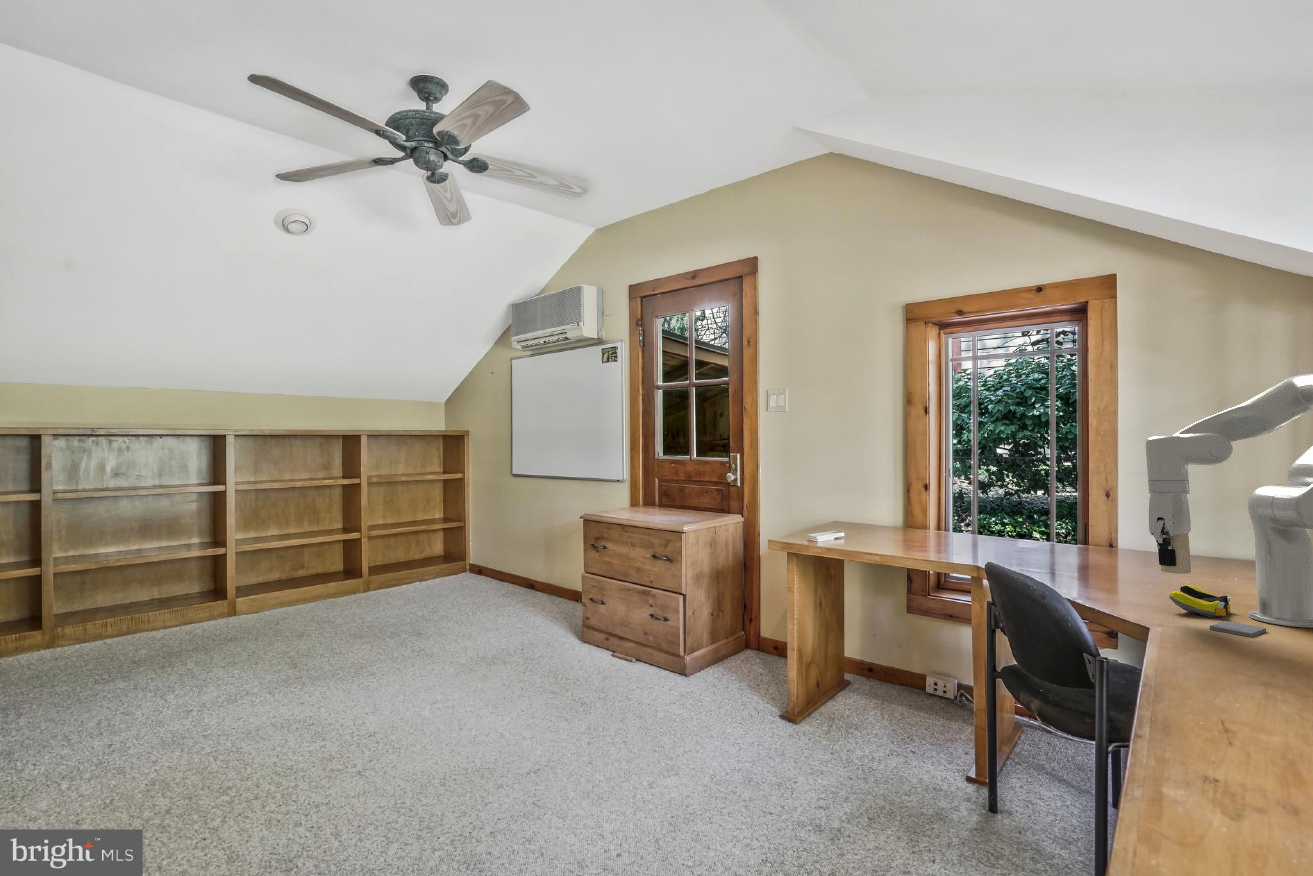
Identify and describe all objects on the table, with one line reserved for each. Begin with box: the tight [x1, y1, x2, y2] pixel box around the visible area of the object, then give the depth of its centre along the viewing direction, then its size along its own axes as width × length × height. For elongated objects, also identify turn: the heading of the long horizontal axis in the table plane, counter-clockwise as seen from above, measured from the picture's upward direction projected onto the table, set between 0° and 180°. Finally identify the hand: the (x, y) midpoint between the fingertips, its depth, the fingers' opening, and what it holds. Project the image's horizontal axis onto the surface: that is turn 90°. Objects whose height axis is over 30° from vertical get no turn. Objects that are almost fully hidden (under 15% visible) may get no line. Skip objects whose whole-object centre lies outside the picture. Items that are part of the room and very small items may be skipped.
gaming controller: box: [1168, 584, 1232, 618], centre depth 154 cm, size 15×6×10 cm
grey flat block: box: [1209, 620, 1267, 638], centre depth 137 cm, size 8×7×1 cm
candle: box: [1159, 532, 1192, 575], centre depth 147 cm, size 6×6×10 cm
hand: (1174, 563), depth 147 cm, fingers closed on candle, 5 cm apart
